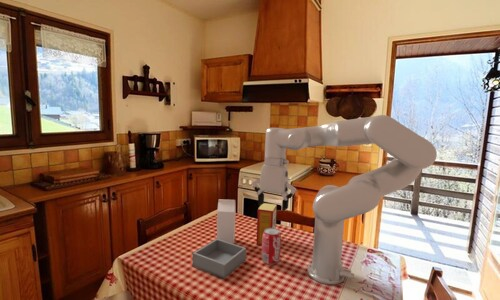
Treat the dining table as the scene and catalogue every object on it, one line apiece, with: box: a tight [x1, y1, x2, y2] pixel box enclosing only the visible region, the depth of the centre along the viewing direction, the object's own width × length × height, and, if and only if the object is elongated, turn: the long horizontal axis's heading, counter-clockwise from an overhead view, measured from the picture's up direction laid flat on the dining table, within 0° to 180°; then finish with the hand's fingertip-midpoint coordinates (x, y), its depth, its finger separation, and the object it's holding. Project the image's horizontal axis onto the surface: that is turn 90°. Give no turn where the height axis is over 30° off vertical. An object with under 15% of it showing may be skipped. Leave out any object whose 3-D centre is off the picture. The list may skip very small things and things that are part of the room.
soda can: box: [261, 227, 282, 265], centre depth 98 cm, size 7×7×12 cm
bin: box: [191, 238, 247, 280], centre depth 96 cm, size 14×14×5 cm
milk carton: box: [216, 198, 237, 244], centre depth 112 cm, size 7×7×19 cm
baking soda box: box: [256, 202, 278, 246], centre depth 115 cm, size 10×6×16 cm
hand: (272, 207), depth 97 cm, fingers open, 9 cm apart
